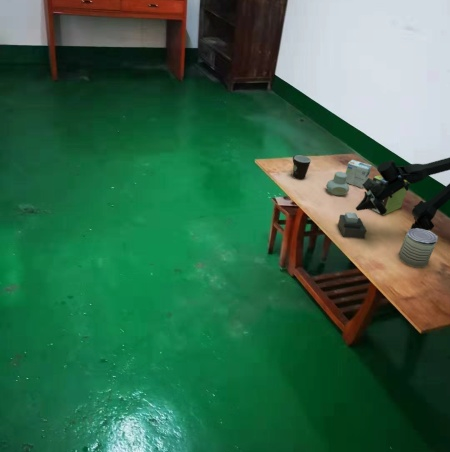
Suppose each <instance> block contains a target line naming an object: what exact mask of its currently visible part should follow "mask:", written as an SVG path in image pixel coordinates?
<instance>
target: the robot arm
mask: <svg viewBox="0 0 450 452" xmlns="http://www.w3.org/2000/svg"><path fill="white" fill-rule="evenodd" d="M376 169H377V172H378V173H379V175H381V176H382V177H383V179H384V180H385V181H387V182H385V183H384V184H383V182H380V183H379V184H378V183H377V182H375V181H374V180H373V178H371V177H368V179H367V180H366V182H365V183H364V184H362V185H363V188H364V189H365V191H364V197H363V198H362V200H361V201H360V202H359V203H358V204H357V206H356V207H355V210H356V211H365V210H371V209H378V211H379V212H380V213H381V216H382V215H383V216H385V215H386V214H385V213H386V212H387V209H386V207H385V206H384V205H383V203H384V202H383V200H385V199H386V198H388V197H390V198H392V195H393V194H394V193H396V192H397V191H399V190H400V189H402V188H405V190H406V192H408V191H409V187H410V186H411V185H414V184H417V183H419V182H421V181H422V182H423V181H424V180H426V178H428V177H429V176H433V175H436V174H440V173H444V172H447V171H450V156H449V157H445V158H442V159H439V160H434V161H431V162H428V163H411V164H409V163H408V164H406V165H401V166H400V165H399V166H397V164H396V163H395V161H394V160H393V159H391V160H387V161H383V162H381V163H380V164H378V166H377V168H376ZM399 175H400V176H401V177H398V176H399ZM404 180H407V181H408V182H409V183H408V182H405V181H404ZM410 184H411V185H410ZM448 201H450V182H449V183H448V184H447V185H446V186H444V187H443V188H442V189H441V190H440V191H439V192H438V193H437V194H435V195H434V196H433V197H431V198H430V200H428V201H423V200H420V201H419V202H418V203H417V204H416V205H413V209H412V210H411V215H412V216H413V220H414V222H412V224H411V227H410V229H415V228H419V229H424V230H428V231H431V230H433V229H434V227H435V225H434V222H433V221H432V220H433V219H434V218H435V216H436V214H437V212H438V210H439V209H440V208H441V207H443V206H444V205H445V204H446V203H447V202H448ZM384 214H385V215H384Z"/></svg>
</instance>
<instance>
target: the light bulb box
mask: <svg viewBox="0 0 450 452" xmlns="http://www.w3.org/2000/svg"><path fill="white" fill-rule="evenodd" d="M371 168H372V165H371V164H368V163H364V162H363V161H362V162H361V161H358V160H356V159H351V160H350V161H349V162H347V166H346V170H345V172H344V173H345V174H346V175H347V178H346V183H347V184H348V185H349V184H350V185H351V186H355V187H357V188H360V189H363V188H364V187H363V185H362V184H364V183H365V182H366V180H367V179H368V178H369V176H370V173H371Z"/></svg>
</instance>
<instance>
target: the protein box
mask: <svg viewBox="0 0 450 452" xmlns="http://www.w3.org/2000/svg"><path fill="white" fill-rule="evenodd" d="M398 177H401V176H400V175H399V176H398ZM372 180H374V181H375V182H377V183H378V184H379V183H380V182H383V184H384V183H385V182H387V181H385V180H384V179H383V177H382V176H381V175H380V174H378V175H376V176H373V178H372ZM404 181H405V182H408V181H407V180H404ZM408 183H409V182H408ZM409 184H410V183H409ZM406 195H407V191H406V190H405V188H402V189H400V190H399V191H397V192H396V193H394V194H393V195H392V198H390V197H388V198H386V199H385V200H383V202H384V203H383V205H384V206H385V207H386V209H387V212H386V213H385V214H384V215H381V213H380V212H379V211H378V209H370V210H371V211H373V212H375V213H377V214H378V215H381V216H386V215H387V214H390V213H393V212H394V211H396V210H399V209H401V207H402V205H403V202H404V200H405V197H406Z"/></svg>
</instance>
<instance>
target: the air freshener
mask: <svg viewBox="0 0 450 452" xmlns="http://www.w3.org/2000/svg"><path fill="white" fill-rule="evenodd" d="M345 173H346V172H342V171H336V172H335V173H334V176H333V178H332V179H330V180H329V181H327V183H326V189H327V191H328V192H329V193H330V194H332V195H335V196H344V195H346V194H347V193H348V192H349V190H350V186H349V183H346V178H347V175H346V174H345Z"/></svg>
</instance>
